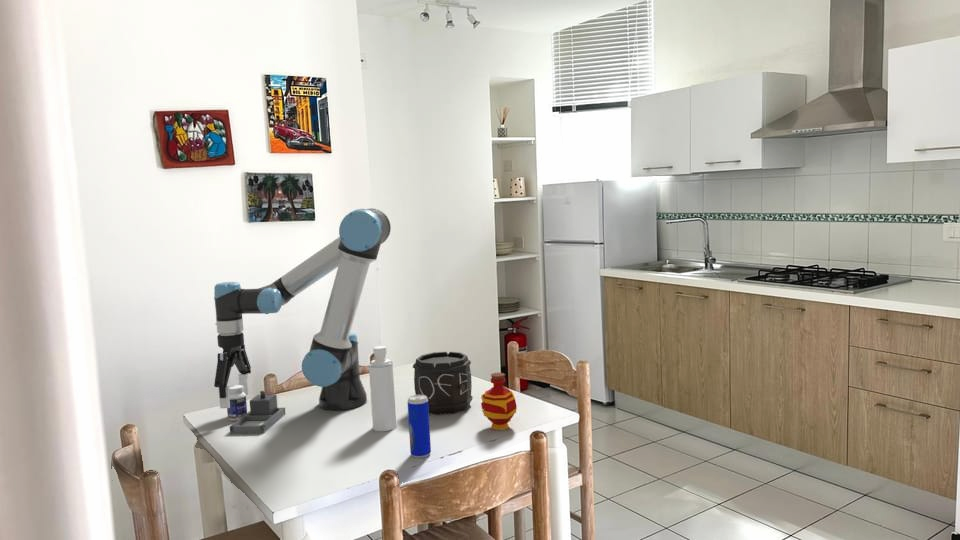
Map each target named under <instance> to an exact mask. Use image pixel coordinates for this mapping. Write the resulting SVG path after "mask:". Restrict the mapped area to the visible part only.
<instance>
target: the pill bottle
mask: <svg viewBox="0 0 960 540" xmlns="http://www.w3.org/2000/svg"><path fill="white" fill-rule="evenodd" d="M228 386H229V385H228ZM243 390H244V388H243V386H242V385H239V384H234V385H230V386H229V399H230V408H226V411H227V419H228V420H229V421H232V422H236V421H238V420H239V419H240V418H242V417H243V416H244V415H246V414H247V413H248V407H247V405H248V404H247V395H246V394H245V393H244V392H243Z"/></svg>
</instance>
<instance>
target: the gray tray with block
mask: <svg viewBox="0 0 960 540" xmlns="http://www.w3.org/2000/svg"><path fill="white" fill-rule="evenodd" d="M259 392H260V393H259V394H257V395H255V396H254V397H253V398H251V399H250V400H249V407H250V409H249V412H248V411H247V414H246V415H244V416H243V417H242V418H240V419H239V420H237V421H234V423H232V424H231V425H229V434H231V435H232V434H233V435H234V434H235V435H236V434H239V435H240V434H243V435H244V434H265V433H266V432H267V431H268V430H269V429H271V428H272V427H273V426H274V425H275V424H276V423H277V422H279V420H280V419H283V417H284V416H285V415H286V407H278V398H277V394H266V390H260V391H259Z"/></svg>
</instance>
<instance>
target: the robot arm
mask: <svg viewBox="0 0 960 540" xmlns="http://www.w3.org/2000/svg"><path fill="white" fill-rule="evenodd" d="M339 224H340V225H339V228H338V229H339V230H338V235H339V236H338V237H337V238H335V239H334V240H333V241H331V242H330V243H328V244H326V245H325V246H324V247H323V248H321V249H319V250H318V251H317V252H316V253H314V254H313V255H311V256H309V257H308V258H307V259H305V260H304V261H302V262H301V263H299V264H298V265H297V266H295V267H294V268H292V269H290V271H288V272H286V273H285V274H283V275H282V276H281V277H279V278H278V279H276V280H275V281H273V282H272V283H270V284H268V285H264V286H262V287H258V288H242V287H241V284H240V282H238V281H226V282H219V283H216V284H214V289H213V290H214V293H213V294H214V297H213V301H214V308H215V320H216V322H215V326H216V332H217V334H218V335H217V337H216V338H217V346H218V348H222V352H221V353H220V352H218V353H217V362H216V363H217V364H216V368H215V369H216V371H215V377H214V382H213V383H214V387H215V388H218V393H219V394H218V396H219V408H220V409H227V408H230V399H229V385H228V383H229V379H230V375H231V371H232V368H233V367H234V365H235V368H236V369H237V371H238V372H239V374H238V385H242V386H243V388H244V390H243V392H244V393H245V394H246V396H249V395H250V389H249V374H251V372H252V370H251V369H252V366H251V363H250V360H249V356H248V355H247V351H246V345H245V337H244V332H243V331H244V321H243V315H247V314H255V315H256V314H258V315H260V314H265V315H270V314H277V313H279V312H280V309H282V306H285V305H286V304H288V303H289V302H290V301H291V300H292V299H293V298H295V297H296V296H298V295H299V294H301V293H302V292H303V291H305V290H306V289H308V288H309V287H311V286H312V285H314V284H315V283H316V282H318V281H319V280H321V279H323V278H324V277H326V276H327V275H329V274H330V273H332V272H333V271H334V270H336V272H335V276H334V281H333V284H332V288H331V292H330V295H329V299H328V302H327V306H326V311H325V313H324V317H323V320H322V324H321V327H320V331H318V332H317V333H315V334H314V335H313V337H312V341H311V344H310V346H309V347H310V348H309V351H308V352H307V353H306V354H305V355H304V357H303V359H302V361H301V362H302V363H301V371H302V374H303V376H304V377H305V379H306V380H307V381H308V382H309V383H310V384H311V385H314V386H316V387H320V388H321V389H320V394H319V397H318V403H319V404H318V405H319V408H321V409H323V410H328V411H343V410H349V409H355V408H357V407H361V406H363V405H365V404H367V402H368V398H367V395H368V394H367V392H366V390H365V387H364V385H363V383H362V380H361V377H360V374H361V373H360V360H359V359H360V358H359V342H358V336H357V334H356V333H354V332H351V331H352V328H353V324H354V320H355V317H356V314H357V309H358V307H359V303H360V299H361V295H362V292H363V290H364V289H363V288H364V285H365V281H366V279H367V274H368V272H369V271H368V270H369V269H370V265H371V263H373V262H375V261H376V260H378V259H377V258H378V255H379V252H380V248H381V245H382V244H384V243H385V242H386V241H387V240H388V238H389V236H390V234H391V231H392V230H391V229H392V226H391V222H390V220H389V218H388V216H387V214H385V213H384V212H383V211H382V210H379V209H376V208H358V209H355V210H353V211H350V212H349V213H348V214H345V215H344V217H343V218H342V220H341V221H340V223H339Z"/></svg>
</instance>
